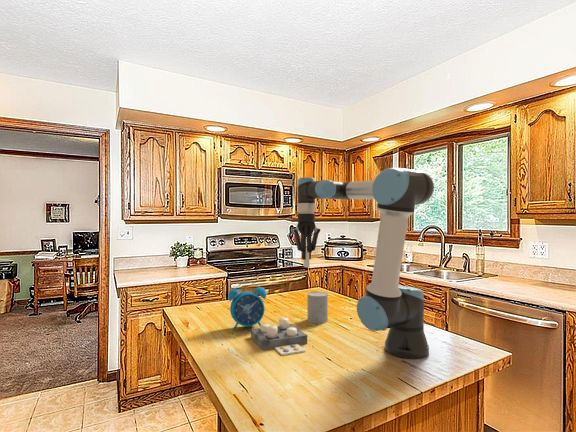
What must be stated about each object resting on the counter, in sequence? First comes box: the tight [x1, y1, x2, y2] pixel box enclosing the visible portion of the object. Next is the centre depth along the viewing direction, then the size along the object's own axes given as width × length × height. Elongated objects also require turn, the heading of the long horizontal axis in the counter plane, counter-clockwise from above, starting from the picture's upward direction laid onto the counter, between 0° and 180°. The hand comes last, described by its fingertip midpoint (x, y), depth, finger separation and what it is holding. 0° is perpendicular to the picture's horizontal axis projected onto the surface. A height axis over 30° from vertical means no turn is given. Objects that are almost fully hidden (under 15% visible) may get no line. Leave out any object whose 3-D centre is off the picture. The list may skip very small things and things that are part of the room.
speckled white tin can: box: [306, 291, 329, 324], centre depth 164 cm, size 10×10×12 cm
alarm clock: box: [227, 280, 267, 332], centre depth 153 cm, size 17×10×20 cm, turn 104°
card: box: [274, 344, 306, 357], centre depth 128 cm, size 7×9×1 cm
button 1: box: [259, 323, 271, 333], centre depth 141 cm, size 4×4×4 cm
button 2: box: [267, 325, 278, 338], centre depth 133 cm, size 4×4×4 cm
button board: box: [250, 323, 308, 351], centre depth 138 cm, size 15×18×3 cm
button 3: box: [278, 317, 290, 329], centre depth 144 cm, size 4×4×4 cm
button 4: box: [287, 327, 298, 337], centre depth 136 cm, size 4×4×4 cm
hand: (306, 266), depth 154 cm, fingers closed
